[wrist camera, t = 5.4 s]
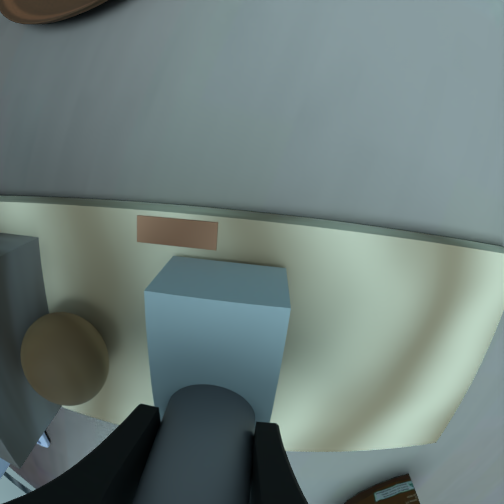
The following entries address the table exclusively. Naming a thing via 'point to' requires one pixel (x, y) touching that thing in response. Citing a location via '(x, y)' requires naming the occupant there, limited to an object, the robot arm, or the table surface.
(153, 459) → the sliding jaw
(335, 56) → the table surface
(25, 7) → the cup and saucer
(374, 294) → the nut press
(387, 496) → the food container
